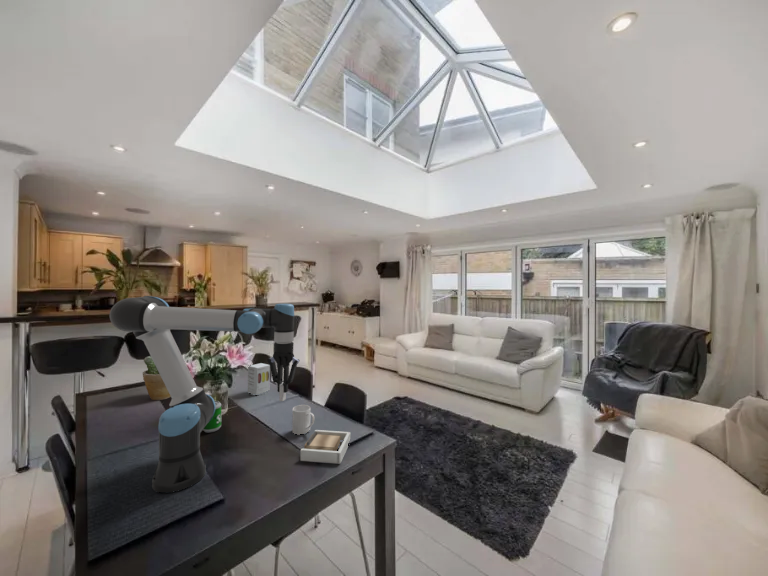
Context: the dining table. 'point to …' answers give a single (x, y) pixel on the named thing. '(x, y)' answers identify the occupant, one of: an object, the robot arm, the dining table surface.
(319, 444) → the trolley
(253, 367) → the supplement box
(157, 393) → the potted plant
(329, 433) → the bay
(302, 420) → the mug
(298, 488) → the dining table surface
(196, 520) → the dining table surface
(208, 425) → the soda can
